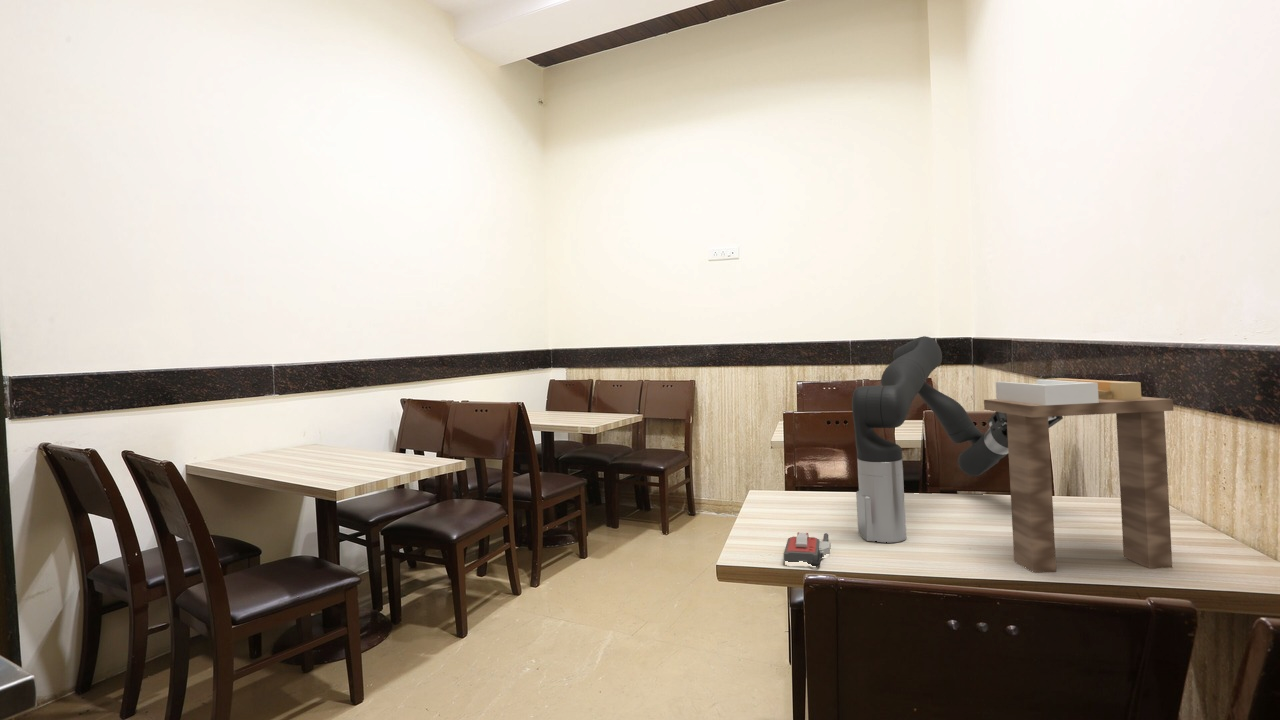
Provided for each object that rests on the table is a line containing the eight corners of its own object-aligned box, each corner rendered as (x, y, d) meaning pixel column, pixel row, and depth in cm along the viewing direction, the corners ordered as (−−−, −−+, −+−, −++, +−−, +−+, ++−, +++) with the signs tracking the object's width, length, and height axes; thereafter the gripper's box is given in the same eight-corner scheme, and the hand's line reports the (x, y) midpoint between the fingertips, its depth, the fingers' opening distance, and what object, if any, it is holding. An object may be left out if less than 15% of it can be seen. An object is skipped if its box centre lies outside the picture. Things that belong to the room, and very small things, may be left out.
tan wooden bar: (1122, 400, 109) (1122, 383, 109) (1046, 392, 131) (1045, 378, 131) (1141, 399, 108) (1140, 382, 108) (1061, 392, 130) (1060, 378, 130)
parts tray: (1045, 405, 107) (1044, 385, 107) (996, 399, 123) (995, 381, 123) (1098, 402, 106) (1097, 382, 106) (1042, 396, 122) (1041, 379, 122)
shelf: (1040, 576, 107) (1030, 397, 107) (991, 548, 123) (983, 392, 123) (1181, 571, 106) (1172, 390, 106) (1114, 543, 122) (1106, 386, 122)
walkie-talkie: (830, 572, 115) (831, 541, 134) (828, 549, 115) (830, 521, 134) (782, 570, 118) (790, 539, 137) (781, 547, 118) (789, 520, 137)
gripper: (972, 421, 152) (1001, 392, 138) (1031, 419, 151) (1066, 389, 137) (981, 450, 148) (1012, 422, 134) (1041, 447, 147) (1079, 419, 133)
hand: (1039, 405), depth 136 cm, fingers open, 8 cm apart
